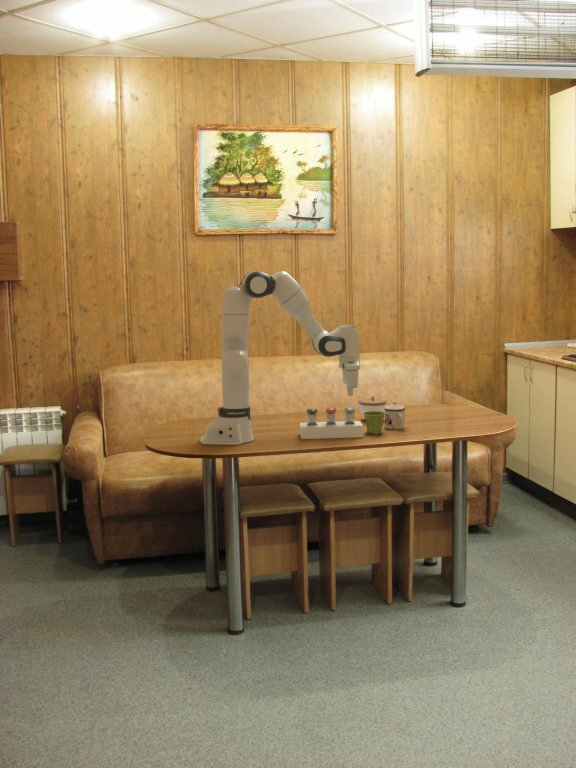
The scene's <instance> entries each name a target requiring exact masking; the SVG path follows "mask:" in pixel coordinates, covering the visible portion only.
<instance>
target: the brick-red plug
mask: <svg viewBox="0 0 576 768" xmlns="http://www.w3.org/2000/svg"><path fill="white" fill-rule="evenodd" d="M325 413H326V422H327V424H335V422H336V413H337V409H336V408H334V407H327V408H325Z"/></svg>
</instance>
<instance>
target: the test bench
mask: <svg viewBox="0 0 576 768" xmlns="http://www.w3.org/2000/svg"><path fill="white" fill-rule="evenodd" d="M299 436H300V439H301V440H316V439H317V440H319V439H320V440H321V439H349V438H364V425H363V424H362V422H361V421H360V420H354V423H353V424H346V421H343V420H341V421H335V424H327V421H317V424H316V425H308V421H307V422H299Z"/></svg>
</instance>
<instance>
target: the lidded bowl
mask: <svg viewBox="0 0 576 768" xmlns="http://www.w3.org/2000/svg"><path fill="white" fill-rule="evenodd" d="M358 404H359V412H360V415H361V417H362V418H363V419H364V420H365V417H364V414H363V413H364V412H369V411H381V412H385V409H384V408H385V407H386V406H387V400H386V399H383V398H375V396H374V395H373V396H371V398H362V399H359V401H358Z"/></svg>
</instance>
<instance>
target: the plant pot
mask: <svg viewBox="0 0 576 768" xmlns="http://www.w3.org/2000/svg"><path fill="white" fill-rule="evenodd" d="M363 414H364V417H365V419H364V420H365V427H366V431H367V434H373V435H379V434H381V433H382V430H383V422H384V419H385V412H381V411H369V412H364V413H363Z"/></svg>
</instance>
